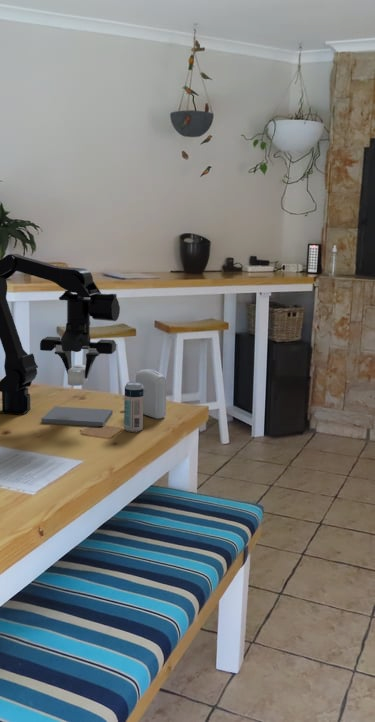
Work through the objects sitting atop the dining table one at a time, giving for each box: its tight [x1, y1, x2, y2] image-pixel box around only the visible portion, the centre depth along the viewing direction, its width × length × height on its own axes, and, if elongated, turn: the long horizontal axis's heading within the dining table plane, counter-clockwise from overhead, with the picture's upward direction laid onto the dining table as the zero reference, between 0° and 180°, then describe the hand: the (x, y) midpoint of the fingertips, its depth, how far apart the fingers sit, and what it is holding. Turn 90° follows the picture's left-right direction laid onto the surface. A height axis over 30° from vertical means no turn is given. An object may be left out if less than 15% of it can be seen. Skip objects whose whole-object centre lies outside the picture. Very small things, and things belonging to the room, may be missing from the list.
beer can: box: [123, 381, 144, 433], centre depth 173 cm, size 5×5×12 cm
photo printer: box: [135, 368, 167, 420], centre depth 187 cm, size 10×4×12 cm, turn 39°
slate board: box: [41, 406, 114, 427], centre depth 182 cm, size 16×12×1 cm
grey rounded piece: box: [67, 364, 89, 387], centre depth 181 cm, size 4×11×4 cm, turn 174°
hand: (78, 377), depth 180 cm, fingers closed on grey rounded piece, 4 cm apart
